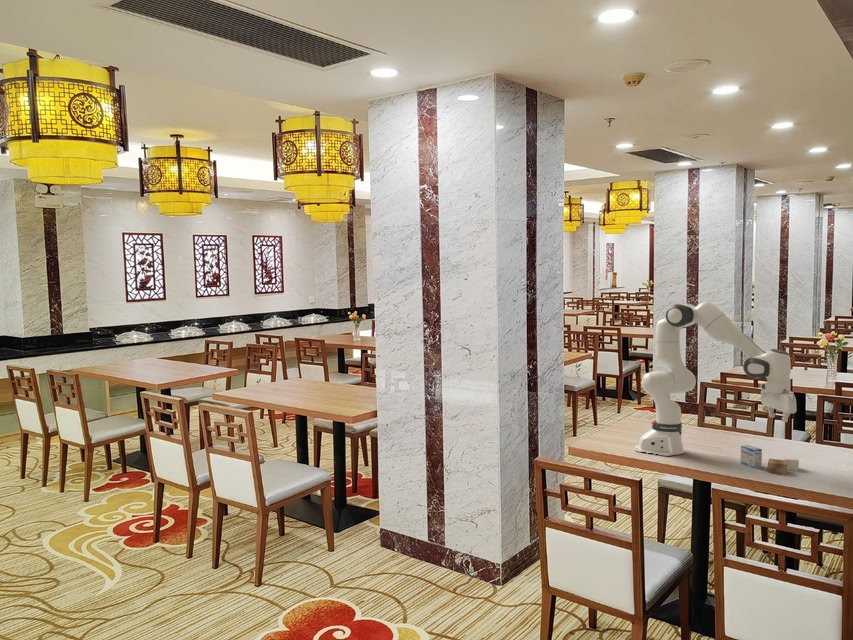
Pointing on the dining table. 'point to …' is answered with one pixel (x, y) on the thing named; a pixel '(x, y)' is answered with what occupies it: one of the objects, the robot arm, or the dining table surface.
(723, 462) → the dining table surface
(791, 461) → the cream block
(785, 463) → the walnut block
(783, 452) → the dining table surface
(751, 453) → the medicine box
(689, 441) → the dining table surface
